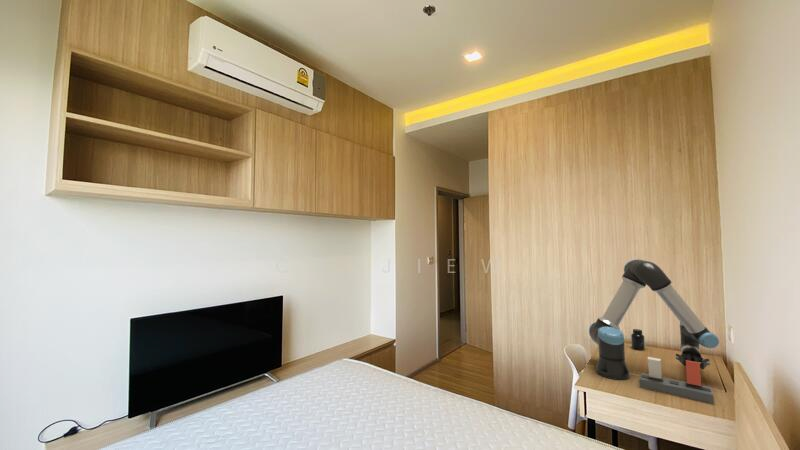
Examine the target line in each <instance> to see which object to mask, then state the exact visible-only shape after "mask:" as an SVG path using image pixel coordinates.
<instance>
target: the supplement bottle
mask: <svg viewBox="0 0 800 450" xmlns="http://www.w3.org/2000/svg"><path fill="white" fill-rule="evenodd" d="M630 338H631V348H632V349H633V350H635V351H645V350H646V349H645V347H646V346H645V335H644V334H643V330H642V329H638V328H633V329H632V333H631V335H630Z"/></svg>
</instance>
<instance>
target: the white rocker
mask: <svg viewBox="0 0 800 450" xmlns="http://www.w3.org/2000/svg"><path fill="white" fill-rule="evenodd" d="M661 360H662V359H661V358H656V357H652V356H647V364H648V365H647V366H648V374H649V376H650V377H655V378H659V379H662V377H663V375H662V362H661Z"/></svg>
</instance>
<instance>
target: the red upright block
mask: <svg viewBox="0 0 800 450" xmlns="http://www.w3.org/2000/svg"><path fill="white" fill-rule="evenodd" d="M700 363H701V362H700ZM700 363H699V362H694V361H688V360H686V366H685V370H686V382H687V384H689V385H694V386H699V387H701V385H702V381H701V380H702V379H701V378H702V377H701V368H700Z"/></svg>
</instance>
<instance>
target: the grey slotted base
mask: <svg viewBox="0 0 800 450" xmlns="http://www.w3.org/2000/svg"><path fill="white" fill-rule="evenodd" d="M639 388H641V389H643V390H649V391H655V392H657V393H658V392H659V393H662V394H667V395H671V396H676V397H681V398H685V399H689V400H693V401H698V402H702V403H707V404H712V405H714V404H715V403H714V393H713V389H712V386H708V385H703V384H701V387H699V386H694V385H689V384H687V381H682V380H678V379H673V378H668V377H665V376H664V377H663V376H662V379H659V378H655V377H650V376H649V373H643V372H640V376H639Z"/></svg>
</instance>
